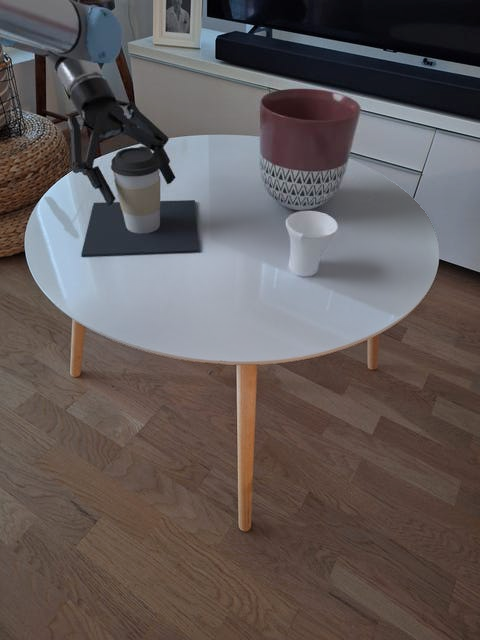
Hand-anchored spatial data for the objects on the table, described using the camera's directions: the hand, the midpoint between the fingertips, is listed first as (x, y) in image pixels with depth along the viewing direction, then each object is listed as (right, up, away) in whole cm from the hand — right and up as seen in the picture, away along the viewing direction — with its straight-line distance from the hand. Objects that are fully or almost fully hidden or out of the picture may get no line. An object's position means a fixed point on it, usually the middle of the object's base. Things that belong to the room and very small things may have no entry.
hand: (143, 191), depth 88 cm
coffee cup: (-1, -5, +6) cm, 8 cm away
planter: (+32, +2, +16) cm, 35 cm away
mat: (-1, -5, +6) cm, 9 cm away
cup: (+30, -15, -3) cm, 34 cm away
